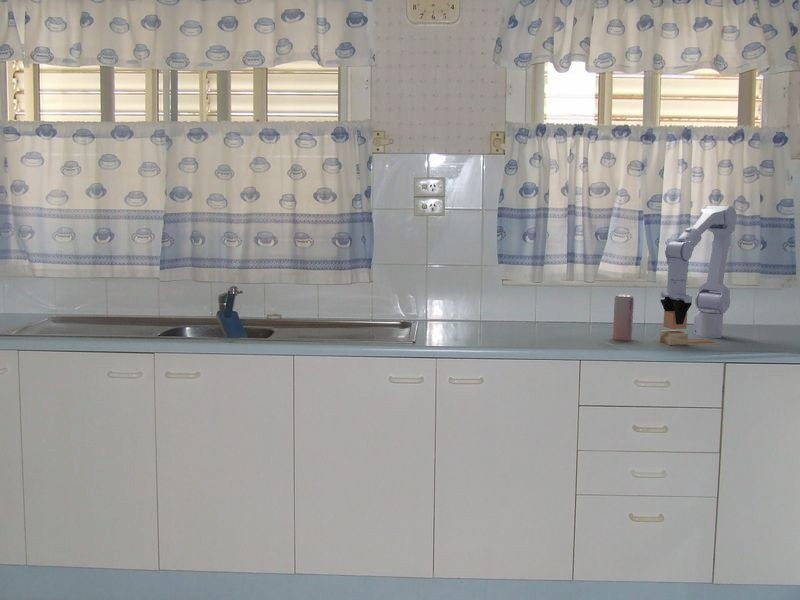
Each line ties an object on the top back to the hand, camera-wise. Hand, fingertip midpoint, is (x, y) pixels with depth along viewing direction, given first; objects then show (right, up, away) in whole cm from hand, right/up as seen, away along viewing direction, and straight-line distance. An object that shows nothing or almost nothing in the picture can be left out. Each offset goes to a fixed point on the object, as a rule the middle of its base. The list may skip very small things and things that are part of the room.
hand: (674, 322), depth 262 cm
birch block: (0, -6, +1) cm, 6 cm away
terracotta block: (0, -2, 0) cm, 2 cm away
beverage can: (-15, -6, +7) cm, 17 cm away
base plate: (+5, -7, +2) cm, 9 cm away
